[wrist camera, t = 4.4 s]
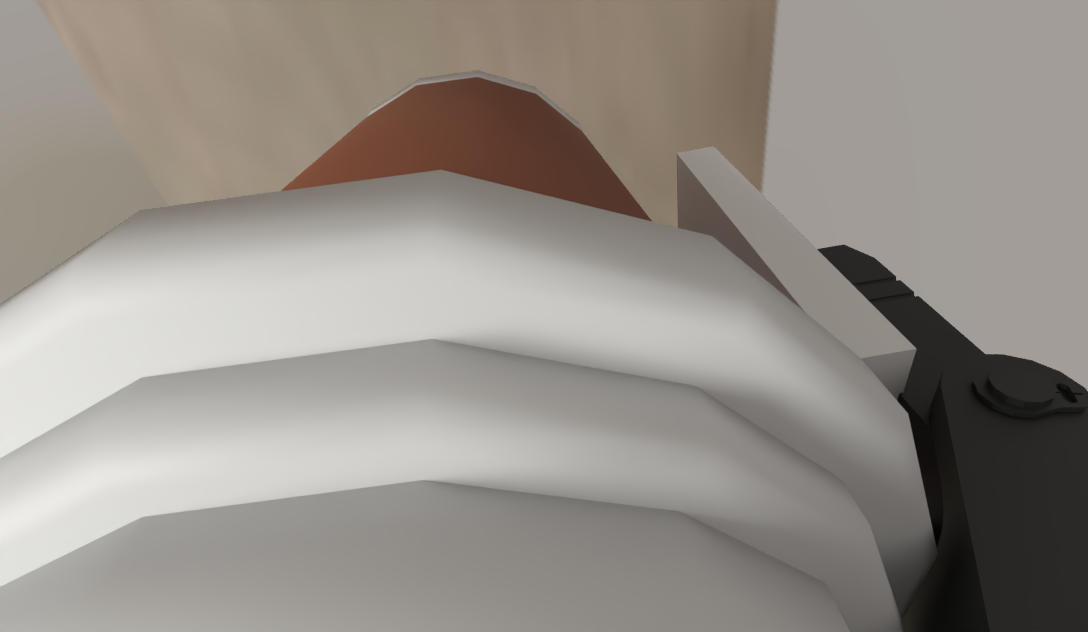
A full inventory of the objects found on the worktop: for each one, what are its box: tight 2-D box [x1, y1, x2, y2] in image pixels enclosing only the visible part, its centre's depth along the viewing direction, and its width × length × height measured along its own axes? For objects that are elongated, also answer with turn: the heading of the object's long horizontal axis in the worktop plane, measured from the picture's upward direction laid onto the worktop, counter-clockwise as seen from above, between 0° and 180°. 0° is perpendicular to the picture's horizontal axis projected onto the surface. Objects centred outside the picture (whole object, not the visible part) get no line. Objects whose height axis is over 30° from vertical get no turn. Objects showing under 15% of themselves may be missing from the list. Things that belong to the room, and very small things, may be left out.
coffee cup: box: [0, 71, 938, 632], centre depth 9 cm, size 9×9×12 cm
